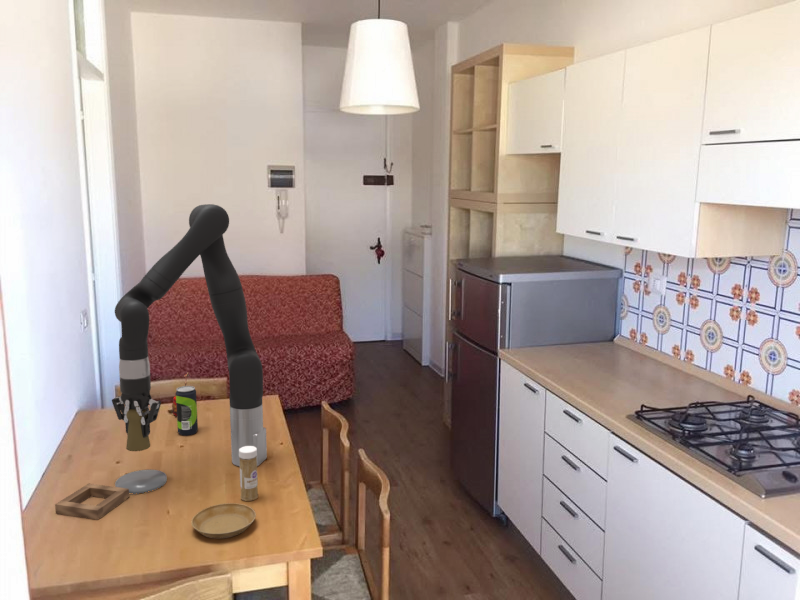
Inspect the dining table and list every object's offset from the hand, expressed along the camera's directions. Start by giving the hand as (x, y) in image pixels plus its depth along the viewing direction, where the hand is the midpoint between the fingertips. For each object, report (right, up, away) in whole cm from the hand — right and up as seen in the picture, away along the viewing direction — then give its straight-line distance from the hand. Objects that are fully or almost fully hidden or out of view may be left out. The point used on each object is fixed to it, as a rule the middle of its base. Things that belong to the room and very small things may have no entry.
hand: (138, 435), depth 179 cm
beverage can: (+1, -7, +39) cm, 39 cm away
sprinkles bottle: (+31, -15, -5) cm, 35 cm away
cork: (0, -3, +1) cm, 3 cm away
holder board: (-7, -16, -10) cm, 20 cm away
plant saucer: (+28, -18, -20) cm, 39 cm away
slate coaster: (0, -13, +2) cm, 14 cm away
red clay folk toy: (-6, -4, +56) cm, 56 cm away
